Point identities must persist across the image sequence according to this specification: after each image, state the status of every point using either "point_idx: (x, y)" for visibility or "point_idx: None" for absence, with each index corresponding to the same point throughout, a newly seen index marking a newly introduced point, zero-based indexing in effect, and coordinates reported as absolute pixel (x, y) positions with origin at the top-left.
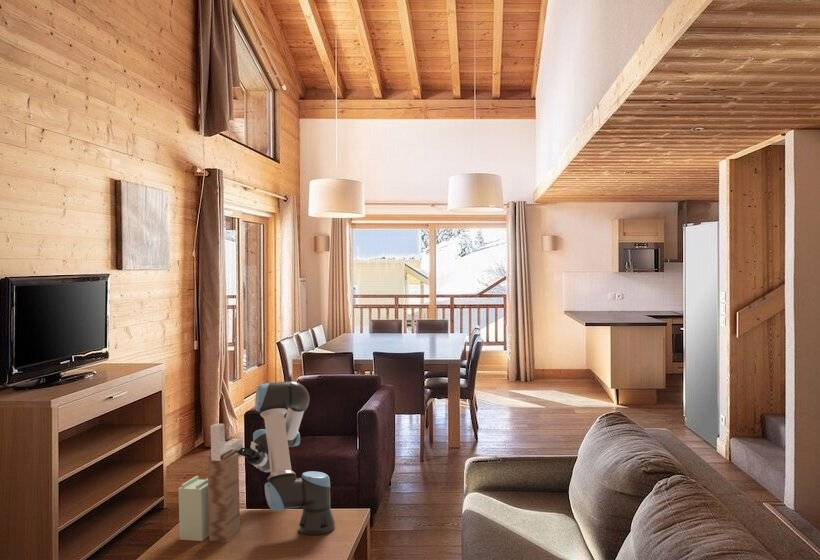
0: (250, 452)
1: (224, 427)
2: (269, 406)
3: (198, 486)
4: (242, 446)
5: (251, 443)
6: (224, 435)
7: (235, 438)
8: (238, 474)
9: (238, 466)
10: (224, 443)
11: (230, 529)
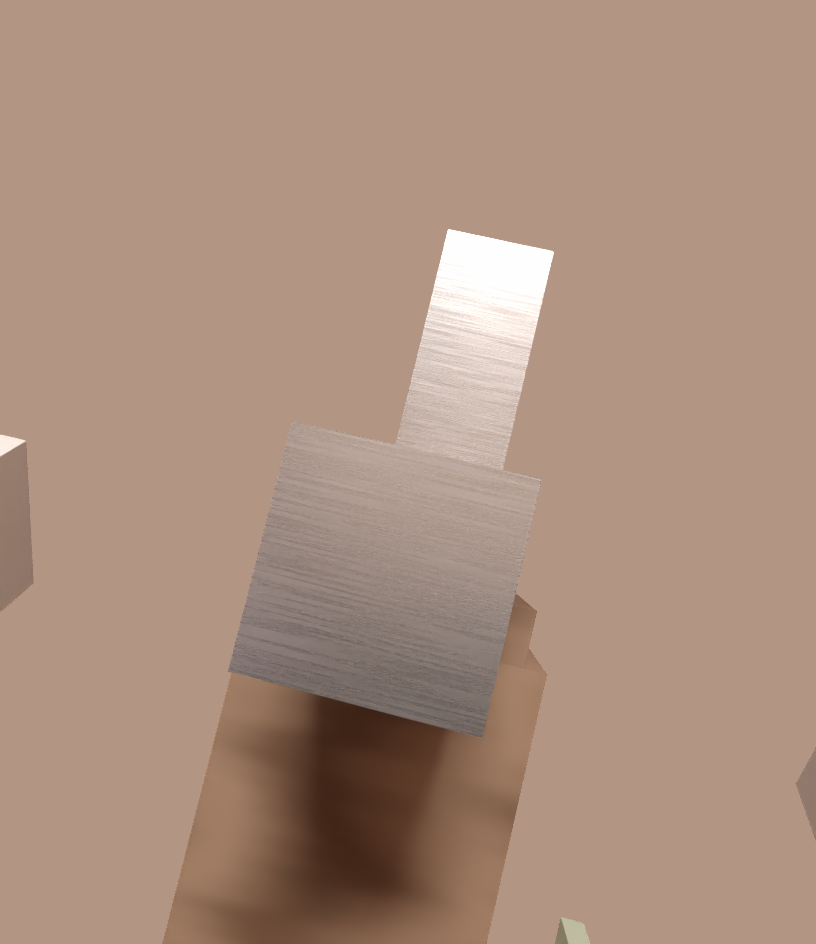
0: None
1: (439, 267)
2: None
3: (559, 935)
4: (245, 629)
5: (19, 490)
6: (419, 351)
7: (484, 468)
8: (167, 935)
9: (197, 809)
10: (398, 436)
11: None
